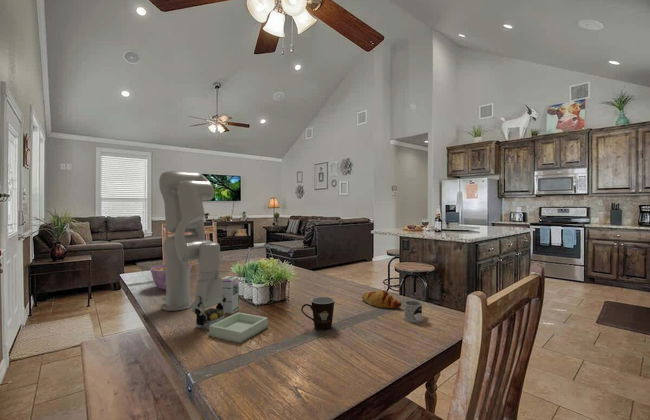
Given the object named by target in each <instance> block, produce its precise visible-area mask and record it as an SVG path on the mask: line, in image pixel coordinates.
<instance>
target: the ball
mask: <svg viewBox="0 0 650 420" xmlns="http://www.w3.org/2000/svg"><path fill="white" fill-rule="evenodd" d="M215 319H218V315H217V314H215V313H213V314H211V316H210V320H211V321H213V320H215Z"/></svg>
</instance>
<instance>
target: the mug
mask: <svg viewBox="0 0 650 420" xmlns="http://www.w3.org/2000/svg"><path fill="white" fill-rule="evenodd" d="M403 302H404V303H403V308H404V310H403V312H404V313H403V315H404V318H403V319H404V321H405V322H406V323H407V322H408V323H411V324H419V323H422V321H423V316H422V315H423V303H422V302H421V301H418V300H405V301H403Z"/></svg>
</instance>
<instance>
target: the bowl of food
mask: <svg viewBox="0 0 650 420" xmlns="http://www.w3.org/2000/svg"><path fill="white" fill-rule="evenodd" d="M189 268H190V271H191V269H192V264H189ZM150 272H151V276H152V280H153V283H154V285H155V286H156V287H157V288H159V289H163V291H166V264H160V265H157V266H153V267H150Z"/></svg>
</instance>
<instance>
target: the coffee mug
mask: <svg viewBox="0 0 650 420" xmlns="http://www.w3.org/2000/svg"><path fill="white" fill-rule="evenodd" d="M305 307H309V308H310V309H311V311H312V317H311V316H309V315H308V314H307V313H305V312H304V308H305ZM334 307H335V299H334V298H333V297H330V296H317V297H313V298H311V304H308V303H305V304H303V305H302V306H301V313H302V314H303V315H304V316H305V317H307V318H308V319H310V320H312V321H313V325H314V329H315V330H318V331H328V330H330V329H332V327H333V318H334V311H335V310H334Z"/></svg>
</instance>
